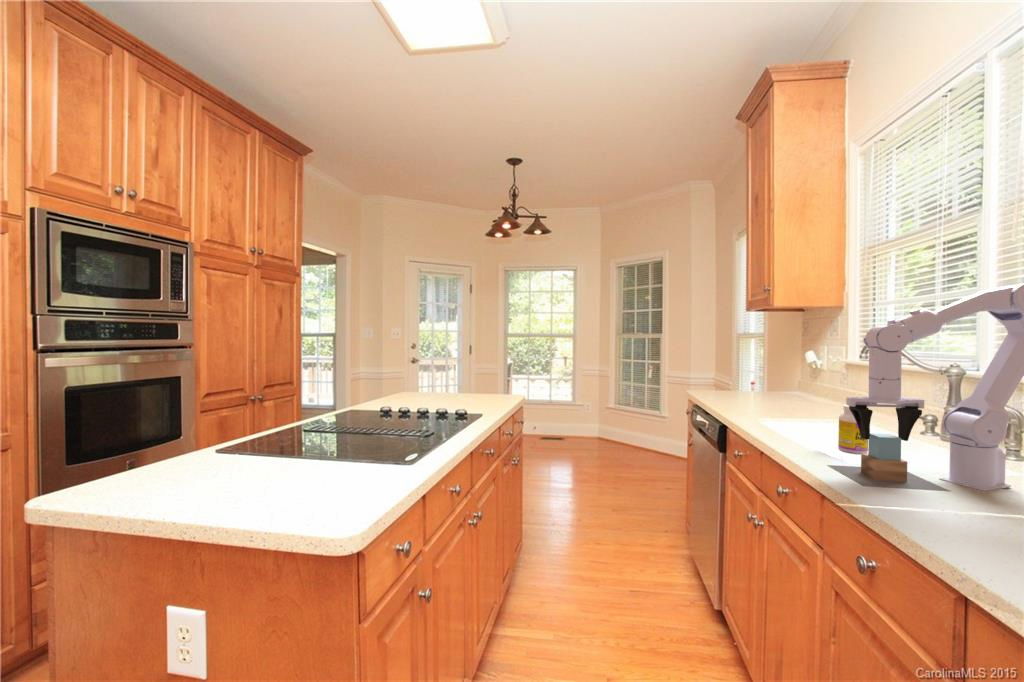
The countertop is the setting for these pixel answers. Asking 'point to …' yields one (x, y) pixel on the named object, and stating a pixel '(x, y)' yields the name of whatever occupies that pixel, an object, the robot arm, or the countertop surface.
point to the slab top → (883, 464)
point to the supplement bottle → (850, 434)
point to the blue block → (885, 447)
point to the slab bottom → (884, 474)
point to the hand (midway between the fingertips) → (884, 439)
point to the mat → (865, 480)
